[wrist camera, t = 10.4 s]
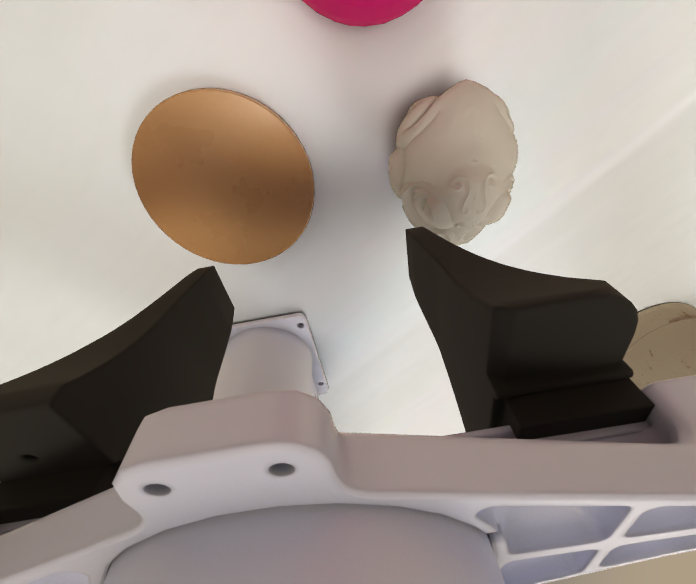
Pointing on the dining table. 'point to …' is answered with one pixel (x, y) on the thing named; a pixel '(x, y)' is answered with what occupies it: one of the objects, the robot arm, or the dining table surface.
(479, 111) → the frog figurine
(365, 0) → the pepper mill
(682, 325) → the thermos bottle
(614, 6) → the dining table surface
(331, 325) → the dining table surface
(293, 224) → the copper coaster
